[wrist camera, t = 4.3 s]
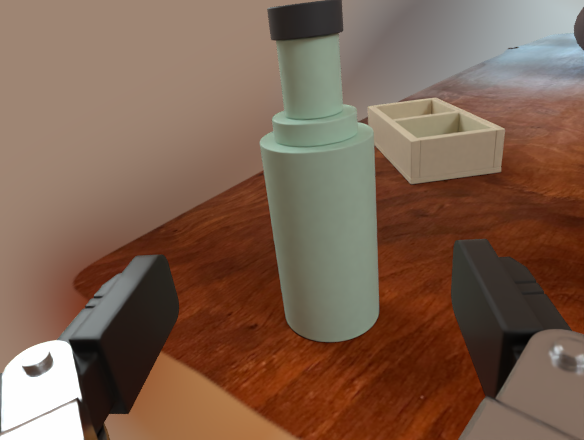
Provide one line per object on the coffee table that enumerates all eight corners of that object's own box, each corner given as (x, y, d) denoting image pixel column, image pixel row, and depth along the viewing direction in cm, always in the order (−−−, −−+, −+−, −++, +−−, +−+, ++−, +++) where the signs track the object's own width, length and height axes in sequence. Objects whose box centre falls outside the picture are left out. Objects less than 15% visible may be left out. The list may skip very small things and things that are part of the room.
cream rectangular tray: (410, 184, 39) (411, 141, 37) (368, 139, 53) (367, 106, 51) (501, 172, 39) (505, 128, 37) (435, 130, 53) (436, 97, 51)
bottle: (288, 349, 22) (237, 10, 15) (282, 289, 26) (241, 11, 20) (390, 334, 22) (385, -8, 15) (366, 277, 26) (354, -3, 20)
